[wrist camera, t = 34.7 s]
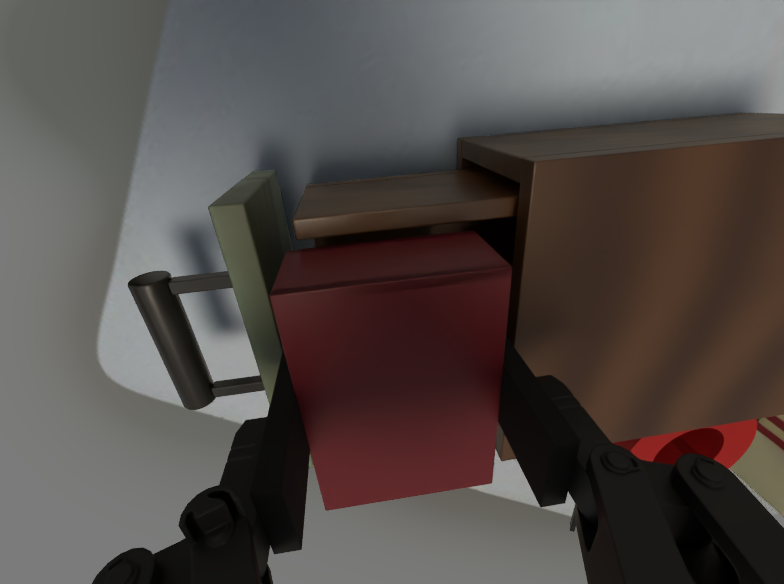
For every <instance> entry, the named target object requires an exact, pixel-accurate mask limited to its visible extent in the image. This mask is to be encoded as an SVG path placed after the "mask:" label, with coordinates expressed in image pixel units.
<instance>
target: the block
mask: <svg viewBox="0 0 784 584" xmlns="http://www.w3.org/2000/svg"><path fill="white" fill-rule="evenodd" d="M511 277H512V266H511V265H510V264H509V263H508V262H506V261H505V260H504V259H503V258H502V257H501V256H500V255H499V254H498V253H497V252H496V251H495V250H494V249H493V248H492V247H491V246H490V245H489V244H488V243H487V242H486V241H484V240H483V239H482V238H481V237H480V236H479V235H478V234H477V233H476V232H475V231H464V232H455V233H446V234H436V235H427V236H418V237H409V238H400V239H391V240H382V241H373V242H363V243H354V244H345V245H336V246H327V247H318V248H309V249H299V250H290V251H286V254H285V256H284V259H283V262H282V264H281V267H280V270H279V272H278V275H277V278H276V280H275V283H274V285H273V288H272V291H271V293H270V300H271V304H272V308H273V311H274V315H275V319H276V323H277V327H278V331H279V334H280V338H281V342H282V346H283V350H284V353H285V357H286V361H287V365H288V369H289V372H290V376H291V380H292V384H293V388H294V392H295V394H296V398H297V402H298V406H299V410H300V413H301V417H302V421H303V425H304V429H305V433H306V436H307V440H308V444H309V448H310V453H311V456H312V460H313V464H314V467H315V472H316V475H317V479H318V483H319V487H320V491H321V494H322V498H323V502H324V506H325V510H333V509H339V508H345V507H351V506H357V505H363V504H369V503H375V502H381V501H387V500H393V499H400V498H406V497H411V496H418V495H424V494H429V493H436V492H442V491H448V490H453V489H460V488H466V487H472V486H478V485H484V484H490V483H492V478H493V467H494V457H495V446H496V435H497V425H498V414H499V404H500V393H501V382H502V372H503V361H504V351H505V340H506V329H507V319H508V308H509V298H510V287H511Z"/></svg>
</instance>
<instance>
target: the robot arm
mask: <svg viewBox="0 0 784 584" xmlns="http://www.w3.org/2000/svg"><path fill="white" fill-rule="evenodd" d="M498 422H499V424H500V426H501V428H502V430H503V432H504V434H505V436H506V438H507V440H508V443H509V445H510V447H511V449H512V451H513V453H514V455H515V457H516V459H517V461H518V463H519V465H520V467H521V469H522V471H523V473H524V475H525V477H526V479H527V481H528V483H529V485H530V487H531V489H532V491H533V493H534V495H535V497H536V499H537V501H538V503H539V505H540V507H545V506H551V505H556V504H562V503H565V501H566V497H567V493H568V492H569V493H570V495H571V497H572V498H573V500H574V502H575V503H576V504H575V508H574V511H573V515H572V518H571V522H570V531H574V530H575V527H577V532H578V536H579V542H580V546H581V552H582V557H583V561H584V567H585V571H586V576H587V581H588V584H784V528H783V527H782V526H781V525H780V524H779V523H778V521H777V520H775V518H774V517H773V516H772V515H771V514H770V513H769V512H768V511H767V509H766V508H765V507H764V506H763V505H762V504H761V503H760V502H759V501H758V500H757V499H756V498H755V496H754V495H753V494H752V493H751V492H750V491H749V490H748V489H747V488H746V487H745V486H744V485H743V483H742V482H741V481H740V480H739V479H738V478H737V477H736V476H735V475H734V474H733V473H732V472H731V471H730V470H729V469H727V468H726V467H725V466H724V465H722V464H721V463H719V462H717V461H715V460H714V459H712V458H709V457H706V456H703V455H701V454H693V453H687V454H683V455H681V456H680V457H679V458H678V459H677V460H676V462H675V465H674V464H666V463H659V462H651V461H645V460H641V459H639V458H637V457H636V456H635V455H634V454H633V453H632V452H631V451H629V450H627V449H625V448H623V447H621V446H619V445H615V444H613V443H612V442H611V441H610V440H609V439H608V438H607V436H606V435H605V434H604V433H603V431H602V430H601V429H600V428H599V426H598V425H597V424H596V423H595V421H594V420H593V419H592V418H591V416H590V415H589V414H588V413H587V411H586V410H585V409H584V408H583V407H581V404H580V403H579V401H578V400H577V399H576V398H575V397H574V396H573V394H572V393H571V391H570V390H569V389H568V388H567V386H566V385H565V384H564V383H563V382H561V381H560V380H558V379H557V378H555V377H554V376H552V375H546V376H539V377H535V375H534V374H533V373H532V371H531V370H530V368H529V367H528V366H527V364H526V363H525V361H524V360H523V359H522V357H521V356H520V354H519V353H518V352H517V350H516V349H515V347H514V346H513V345H512V343H511V342H510V340H509V339H508V338H507V336H506V340H505V351H504V361H503V372H502V382H501V393H500V404H499V414H498ZM309 457H310V448H309V444H308V440H307V436H306V433H305V429H304V425H303V421H302V417H301V413H300V410H299V406H298V402H297V398H296V394H295V392H294V388H293V384H292V380H291V376H290V372H289V369H288V365H287V361H286V357H285V353H284V350H283V351H282V355H281V360H280V364H279V368H278V373H277V377H276V381H275V386H274V390H273V394H272V399H271V403H270V407H269V412H268V416H267V417H265V418H258V419H251V420H246V421H245V422H244V423H243V425H242V426H241V427H240V429H239V430H238V431H237V432H236V434H235V437H234V440H233V443H232V446H231V451H230V453H229V456H228V459H227V460H228V461H227V463H226V465H225V469H224V472H223V475H222V478H221V481H220V485H218V486H215V487H212V488H208V489H206V490H205V491H203V492H201V493H199V494H198V495H196V496H195V498H193V499H192V500H191V502H189V503H188V504H187V506H186V508H185V509H184V511H183V513H182V514H181V517H180V522H179V527H180V529H181V531H182V532H183V534H184V536H185V537H186V538H185V539H183V540H182V541H180V542H178V543H176V544H174V545H172V546H169V547H167V548H165V549H163V550H161V551H159V552H157V553H155V554H152V553H151V551H149V550H147V549H145V548H134V549H130V550H128V551H126V552H124V553H121V554H120V555H118V556H117V557H115V558H114V559H113V560H111V561H110V562H109V563H107V565H106V566H105V567H104V568H103V569H102V570H101V571H100V572H99V574H97V576H96V577H95V579H94V581H93V583H92V584H273V581H272V576H271V571H270V568H269V567H268V564H267V562H268V555H269V549H270V545H271V548H272V550H273V552H274V554H278V553H284V552H290V551H296V550H301V549H302V538H303V527H304V515H305V504H306V492H307V479H308V468H309Z"/></svg>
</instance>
